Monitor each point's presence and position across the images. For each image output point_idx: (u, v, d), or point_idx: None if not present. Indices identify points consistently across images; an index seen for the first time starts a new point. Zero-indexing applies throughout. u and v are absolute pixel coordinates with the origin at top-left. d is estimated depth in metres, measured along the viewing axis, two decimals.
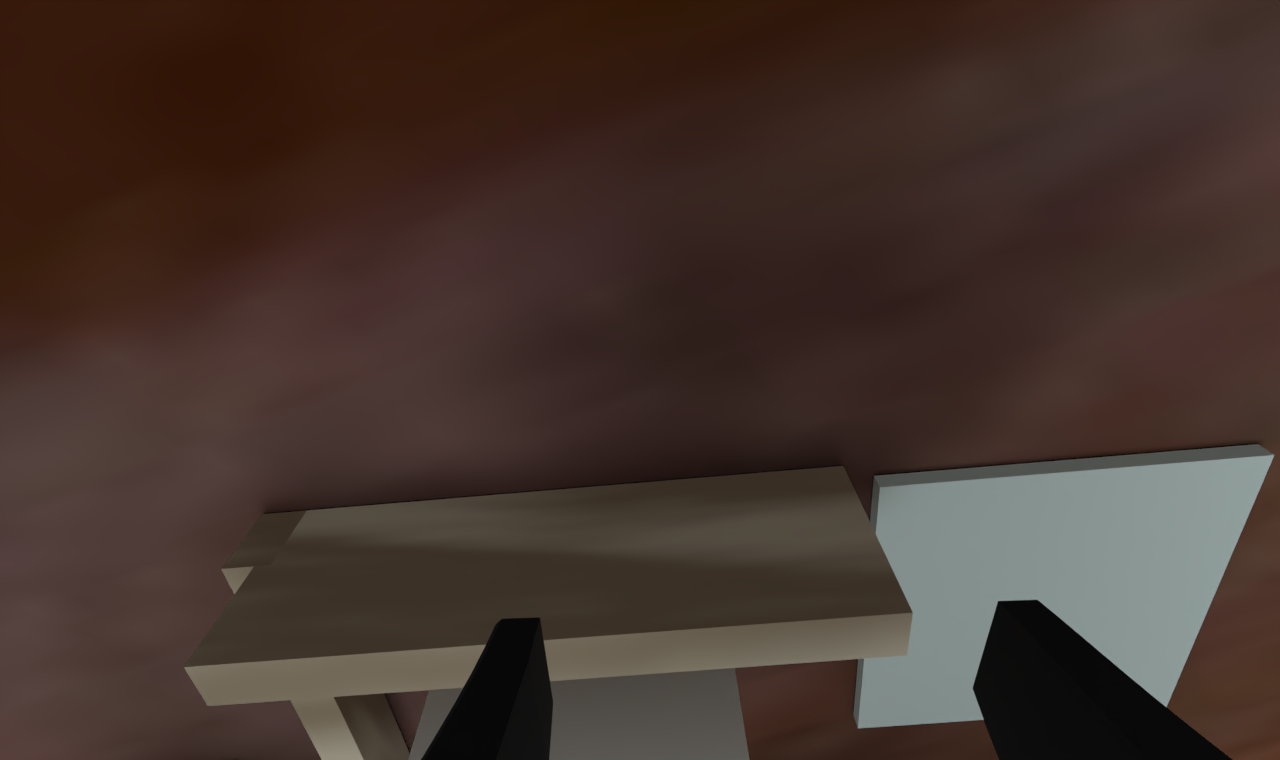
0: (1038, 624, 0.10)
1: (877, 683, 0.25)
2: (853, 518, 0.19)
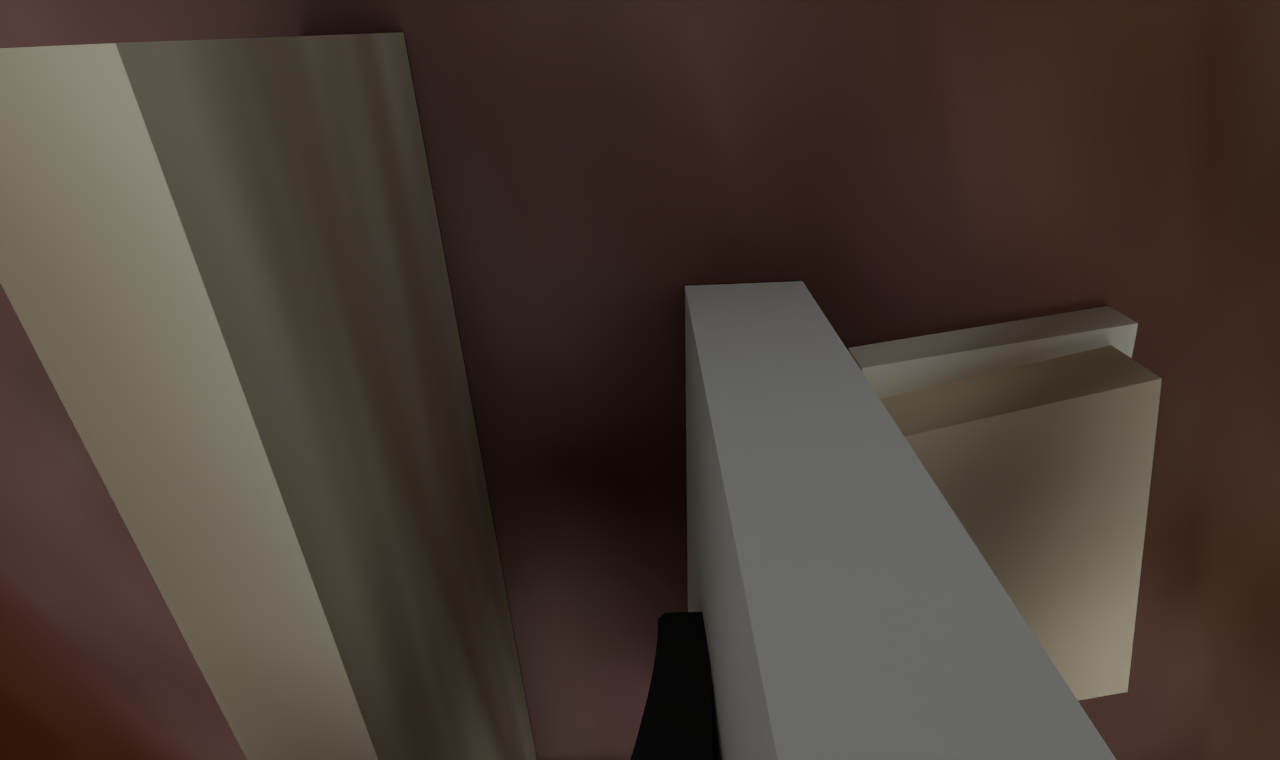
0: None
1: None
2: None
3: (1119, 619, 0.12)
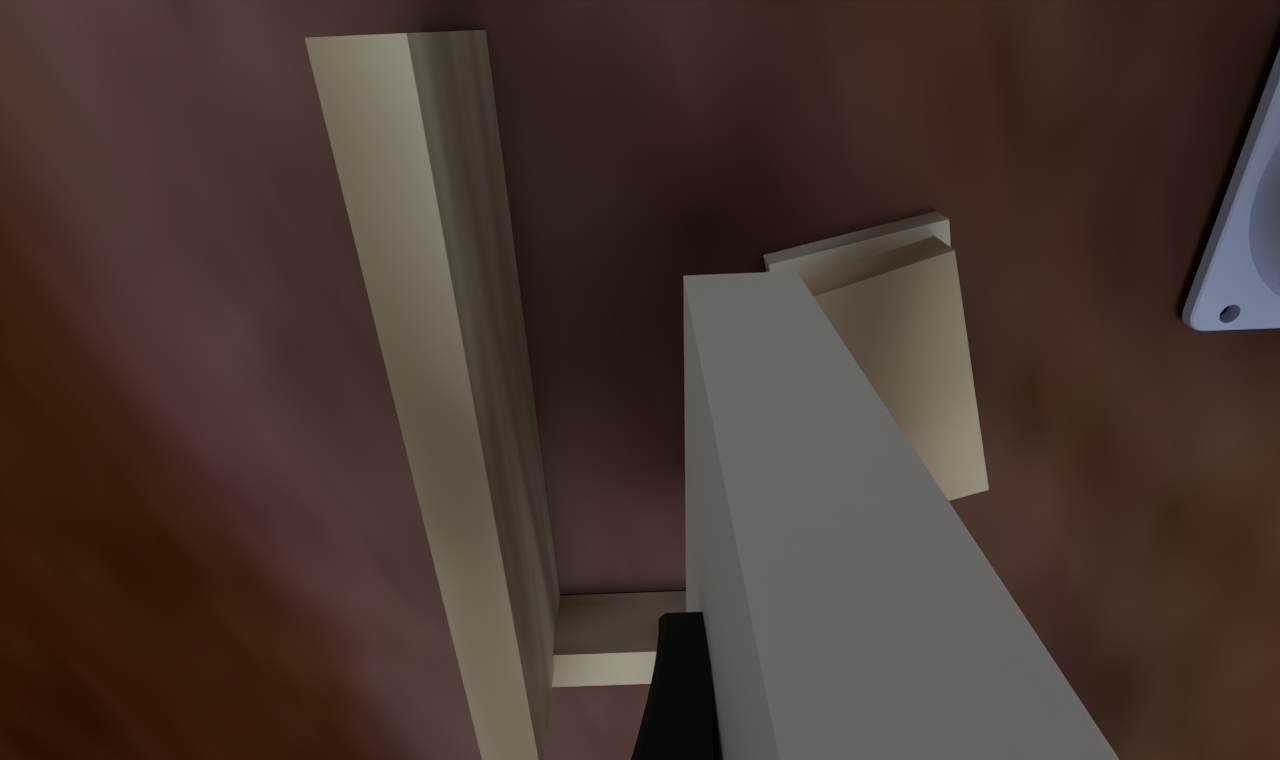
0: None
1: None
2: None
3: (969, 431, 0.18)
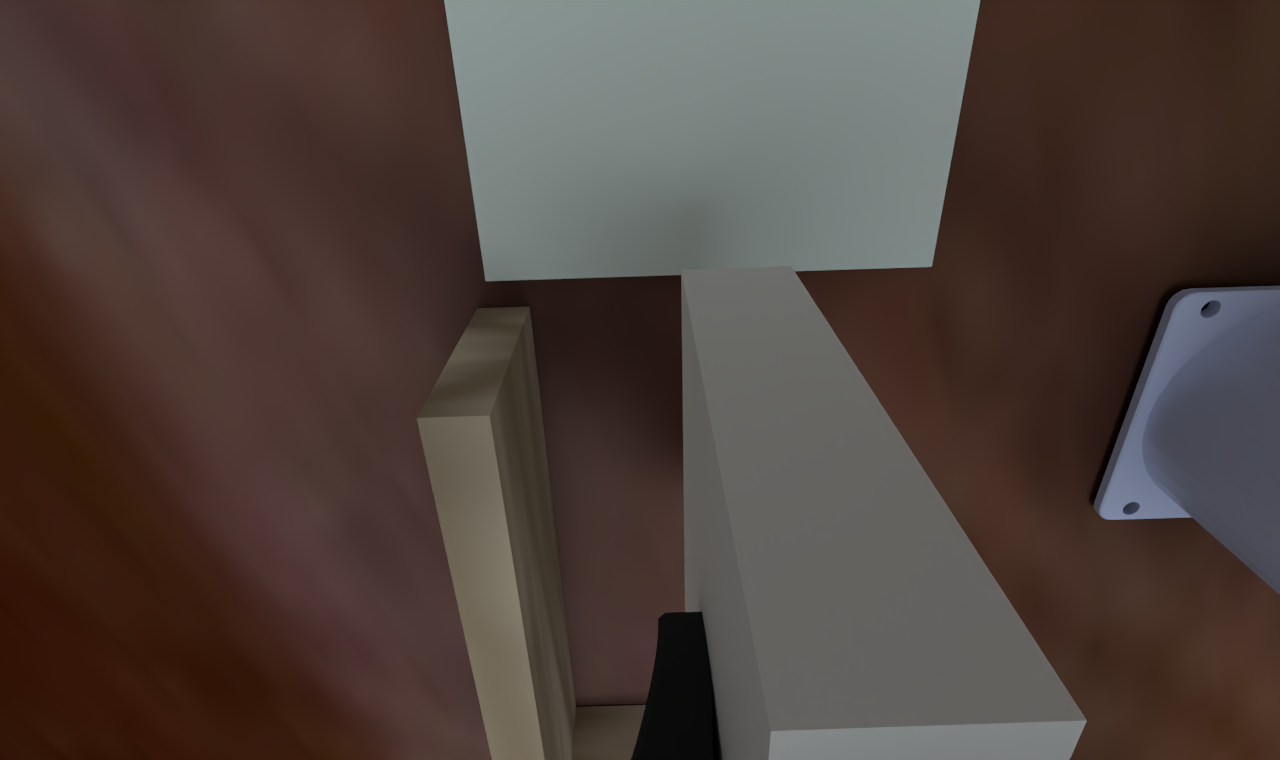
0: None
1: (835, 248, 0.18)
2: None
3: None
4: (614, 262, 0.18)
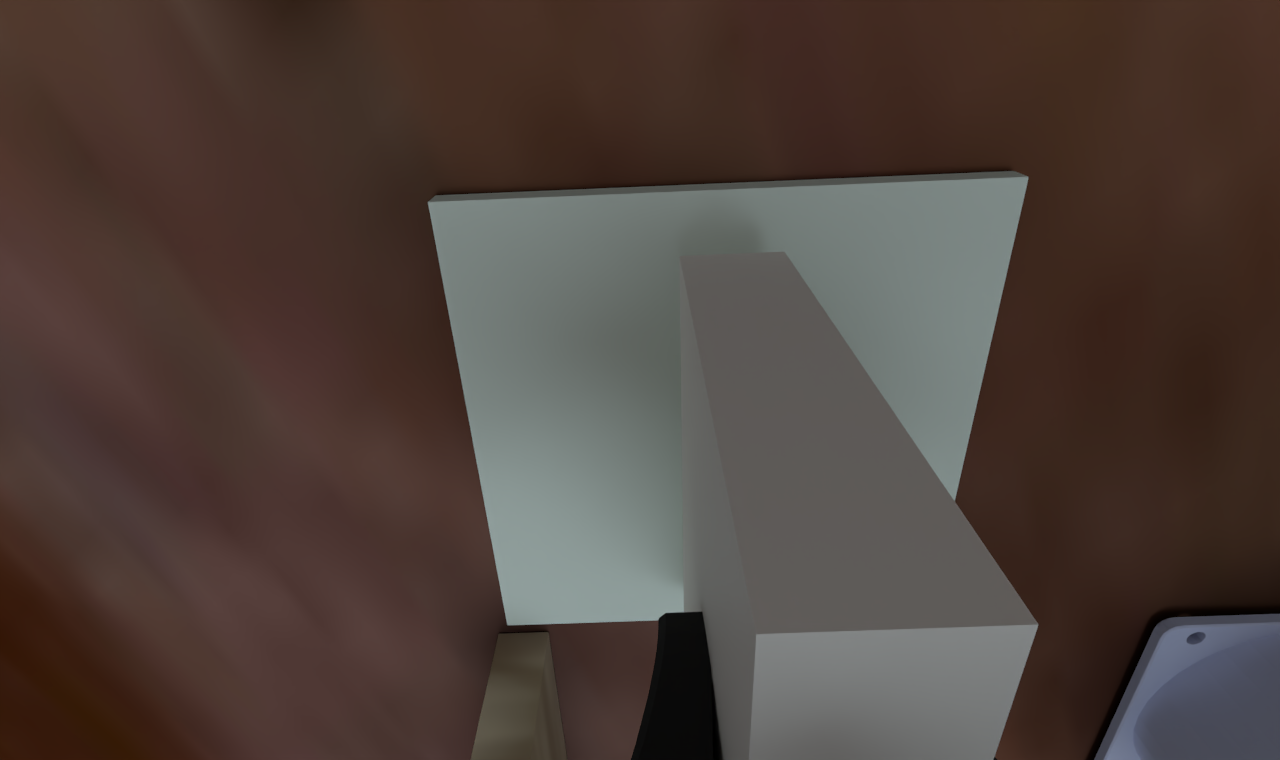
0: None
1: None
2: None
3: None
4: (629, 611, 0.19)
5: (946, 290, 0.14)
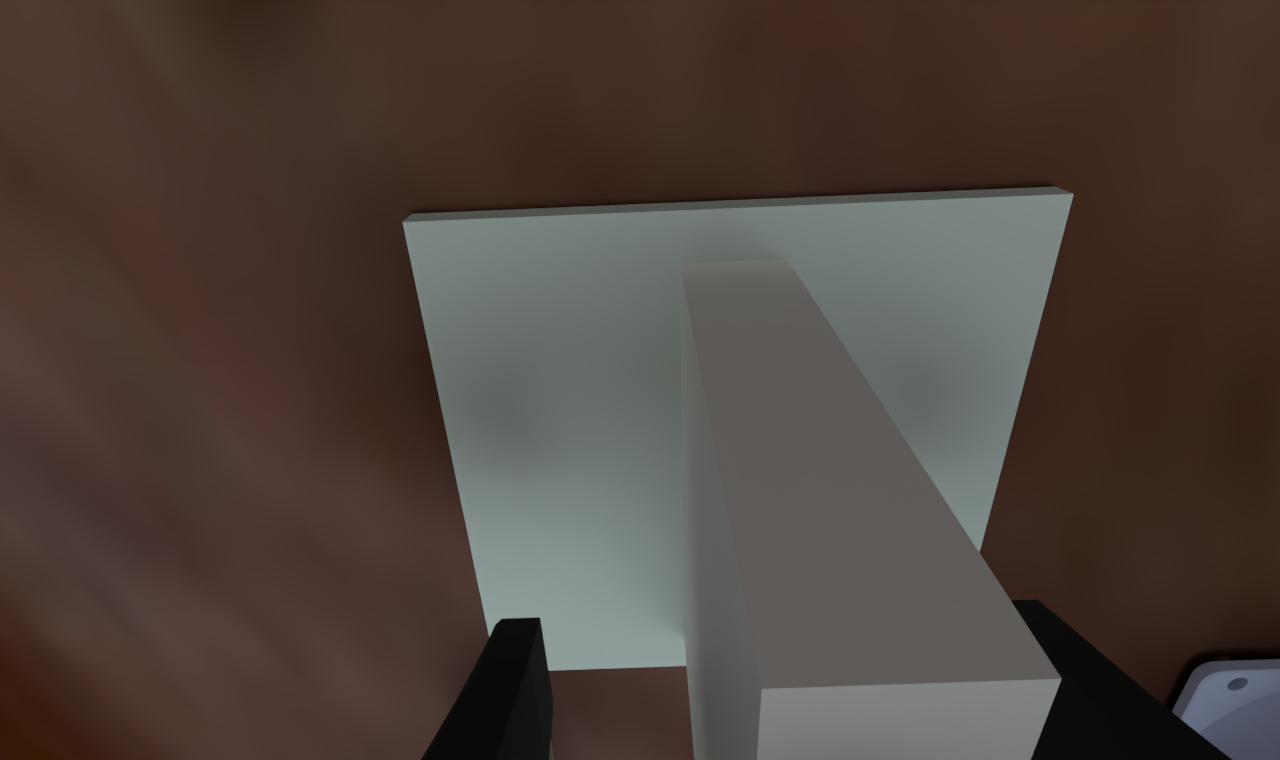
0: (1038, 624, 0.10)
1: None
2: None
3: None
4: (627, 657, 0.17)
5: (978, 318, 0.13)
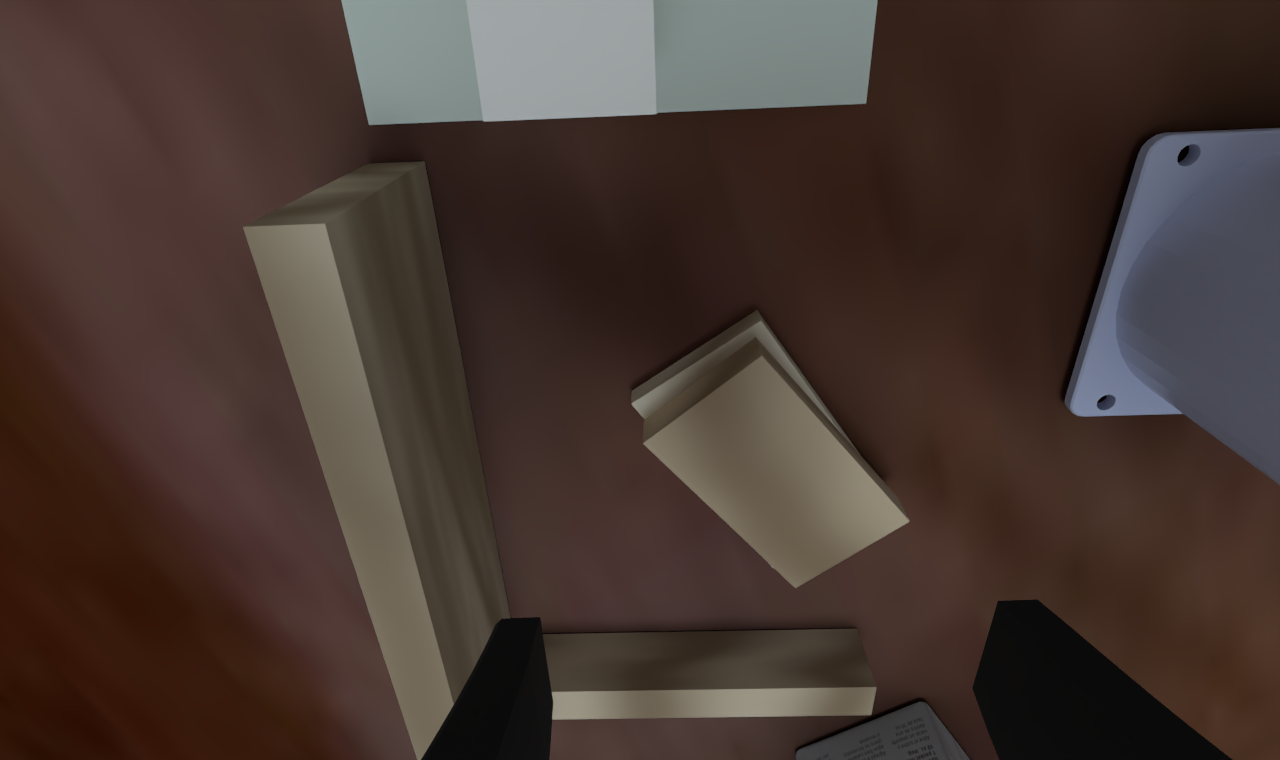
0: (1038, 624, 0.10)
1: (754, 81, 0.16)
2: None
3: (861, 481, 0.19)
4: None
5: None
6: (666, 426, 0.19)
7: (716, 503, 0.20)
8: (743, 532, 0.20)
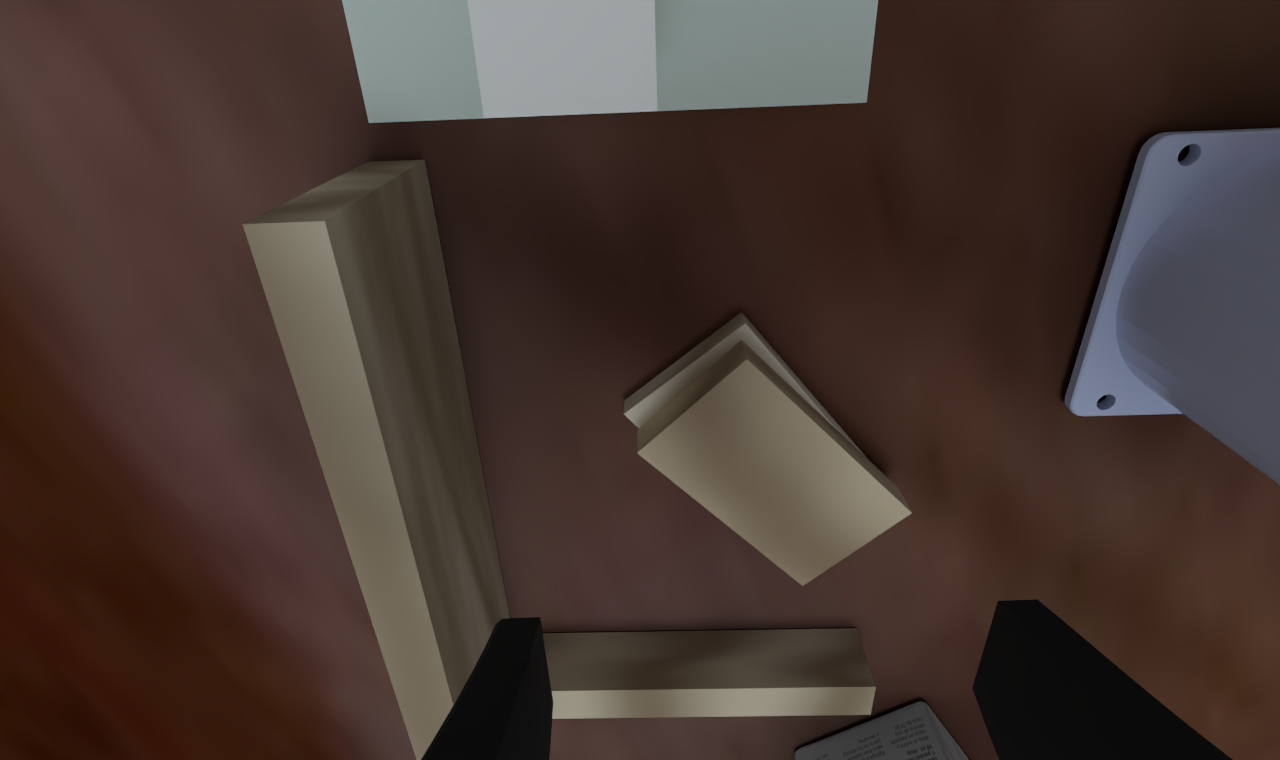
0: (1038, 624, 0.10)
1: (755, 80, 0.16)
2: None
3: (859, 476, 0.19)
4: None
5: None
6: (658, 434, 0.19)
7: (715, 507, 0.20)
8: (745, 534, 0.20)
